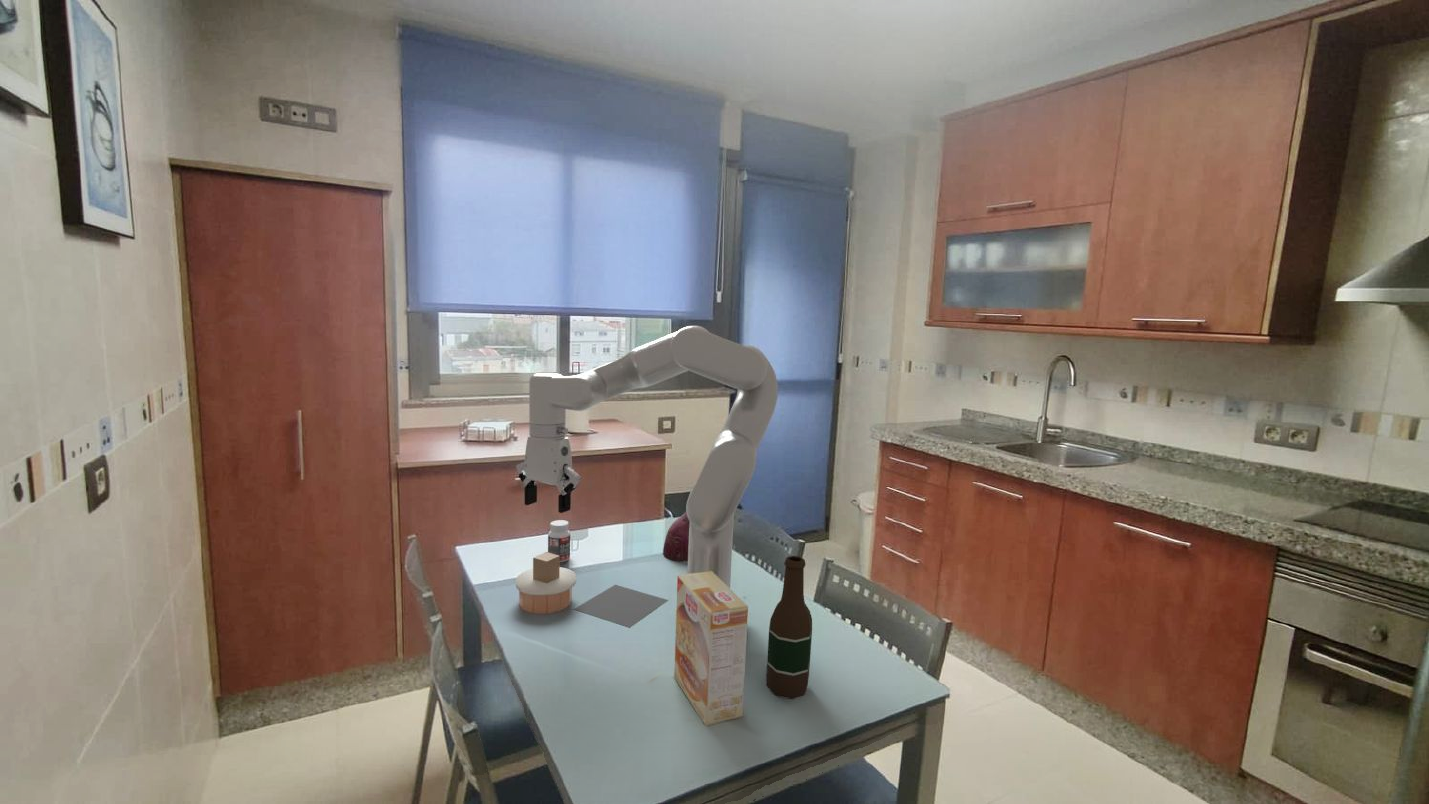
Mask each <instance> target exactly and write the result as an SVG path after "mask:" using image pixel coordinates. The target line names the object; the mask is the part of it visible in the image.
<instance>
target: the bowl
mask: <svg viewBox="0 0 1429 804" xmlns="http://www.w3.org/2000/svg"><path fill="white" fill-rule="evenodd" d="M518 594H519V595H518V598H519V599H518V601H519V603H518V604H519V606H520V607H521V609H522V610H523V611H525V612H528V613H531V614H542V615H543V614H551V613H555V612H561V611H563V610H564V609H566V608H567V607H569V606H570V605H571V604H572V603H571V602H572V600H573V596H572V595H573V587H572V588H570V589H569V590H567V591H564V592H561V593H558V594H553V595H530V594H526V593H523V592H521V591H519V590H518Z"/></svg>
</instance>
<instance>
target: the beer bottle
mask: <svg viewBox="0 0 1429 804" xmlns="http://www.w3.org/2000/svg"><path fill="white" fill-rule="evenodd" d="M784 566H785V569H784V578H783V585H782V593H781V599H780V601H779V602H778V603H777V604H776V606H775V608H774V610H773V611H772V612H773V613H772V615H771V617H770V621H769V628H768V640H767V641H768V642H767V643H768V644H767V656H766V657H767V659H766V675H765V676H766V677H765V678H766V679H765V681H766V683H765V684H766V687H767V688H768V689H769V690H770V691H771V692H772V693H773V694H774V695H775V696H776V697H781V698H787V699H795V698H799V697H803V696H805V695H806V692H807V689H808V684H809V680H810V679H809V678H810V666H811V665H810V664H811V654H812V639H813V638H812V637H813V618H812V614H811V611H810V609H809V607H808V605H807V604H806V603H805V596H804V593H805V592H804V586H805V584H804V583H805V582H804V577H805V576H804V574H805V572H804V570H805V567H806V560H805V559H804V558H803V557H801V556H798V555H791V556H786V558H785V561H784Z"/></svg>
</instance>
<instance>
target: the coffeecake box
mask: <svg viewBox="0 0 1429 804" xmlns="http://www.w3.org/2000/svg"><path fill="white" fill-rule="evenodd" d="M676 579H677V584H676V585H677V586H676V587H677V588H676V610H675V611H676V612H675V613H676V615H675V616H676V617H675V639H674V640H675V641H674V642H675V643H674V644H675V645H674V671H673V673H674V674H673V678H674V679H675V681H676V682H677V683H678V685H679V687H680V688H681V690H682V692H683V694H685V697H687V699H688V700H689V702H690V703H691V705H692V707H693V708H694V709H695V711H696V713H697V714H698V715H699V717H700V718H701V720H702V722H703V723H704V725H705V726H711V725H714V724H719V723H721V722H725V721H730V720H735V719H739V718H743V716H744V715H743V713H744V693H745V692H744V691H745V675H746V674H745V673H746V672H745V670H746V657H747V655H746V654H747V653H746V652H747V638H748V637H747V633H748V614H749V605H747V603H745V601H743V600H742V598H740V597H739V596H738V595H737V594H736V593H735V592H734V591H733V590H732V589H731V587H730V588H729V587H728V586H727V585H726V584H725V583H724V582H723V581H722V580H721V579H719V578H718V577H717V576H716V575H715V574H714V573H713V572H712V571H707V572H700V573H692V574H691V573H688V574H687V573H683V574H678V575H677V578H676Z"/></svg>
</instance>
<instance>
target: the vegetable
mask: <svg viewBox="0 0 1429 804" xmlns="http://www.w3.org/2000/svg"><path fill="white" fill-rule="evenodd" d="M689 526H690V521H689V519H688V516H687V512H686V511H685V512H684V513H683V514H682V515H680V516H679V517H678V518H677V519H676V520H675V521H673V522H672V524H671V525H670V527H668V528H669V529H668V531H666V532H667V533H666V536H665V540H664V543H663V549H662V555H663V556H664V558H666V559H668V560H670V561H674V562H679V563H680V562H682V563H683V562H688V545H689Z"/></svg>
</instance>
